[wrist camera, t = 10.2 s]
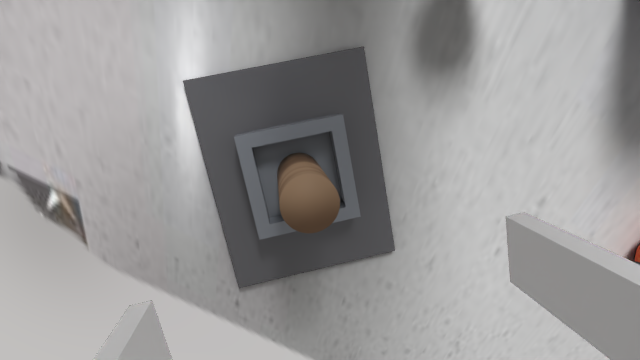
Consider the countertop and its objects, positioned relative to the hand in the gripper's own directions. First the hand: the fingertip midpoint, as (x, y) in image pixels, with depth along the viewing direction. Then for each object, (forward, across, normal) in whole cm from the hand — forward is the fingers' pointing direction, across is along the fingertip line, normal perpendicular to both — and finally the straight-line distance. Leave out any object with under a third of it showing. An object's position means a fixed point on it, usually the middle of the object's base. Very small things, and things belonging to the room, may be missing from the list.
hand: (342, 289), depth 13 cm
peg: (+21, 0, 0) cm, 21 cm away
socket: (+22, 0, 0) cm, 22 cm away
